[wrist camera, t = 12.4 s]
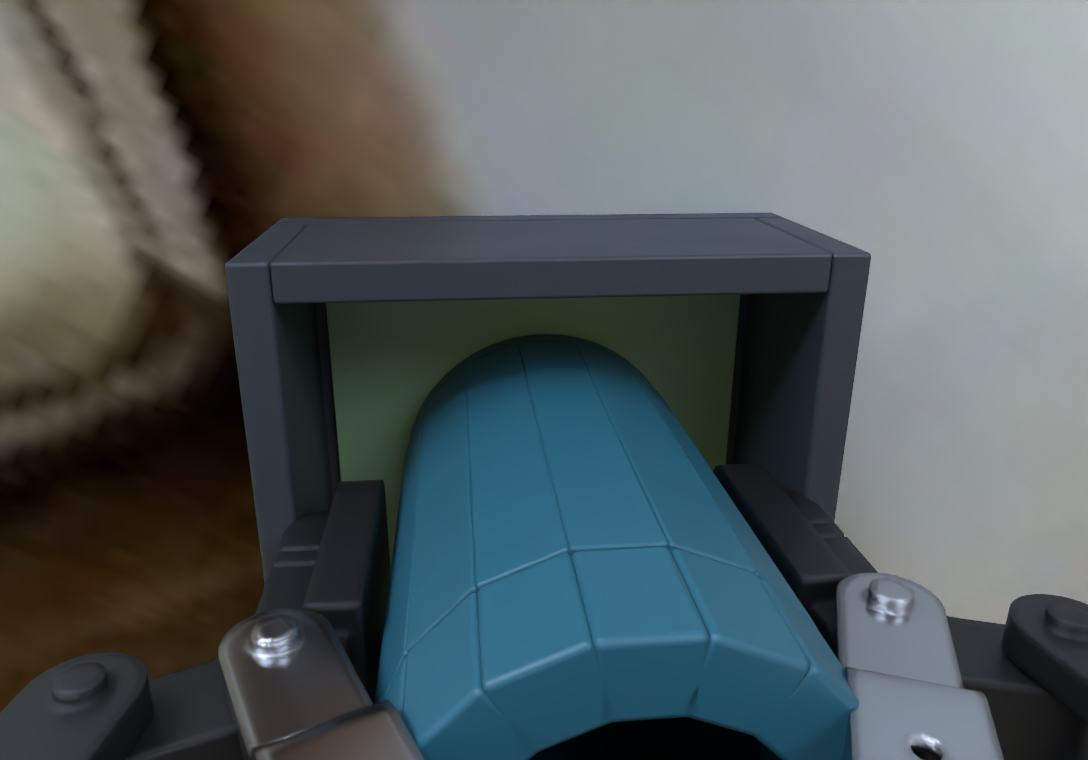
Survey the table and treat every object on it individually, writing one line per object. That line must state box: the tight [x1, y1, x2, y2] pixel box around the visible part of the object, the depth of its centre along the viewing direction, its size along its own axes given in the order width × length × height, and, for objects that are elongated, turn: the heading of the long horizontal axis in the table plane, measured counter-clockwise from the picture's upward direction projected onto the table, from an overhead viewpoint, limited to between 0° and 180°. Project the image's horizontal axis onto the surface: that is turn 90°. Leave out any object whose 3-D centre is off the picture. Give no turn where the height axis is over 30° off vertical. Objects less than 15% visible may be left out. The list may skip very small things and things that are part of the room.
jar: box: [375, 334, 859, 760], centre depth 12 cm, size 5×5×9 cm
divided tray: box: [225, 213, 871, 585], centre depth 17 cm, size 9×18×4 cm, turn 0°
